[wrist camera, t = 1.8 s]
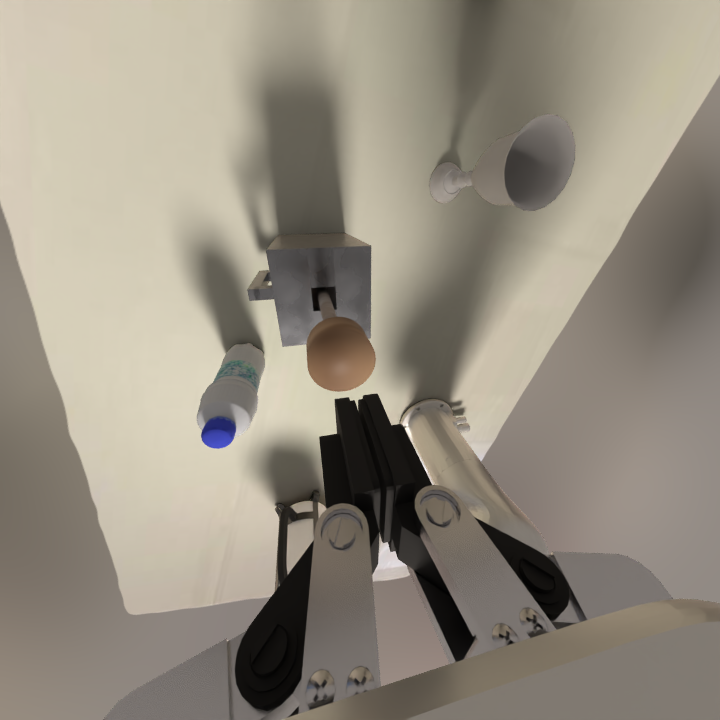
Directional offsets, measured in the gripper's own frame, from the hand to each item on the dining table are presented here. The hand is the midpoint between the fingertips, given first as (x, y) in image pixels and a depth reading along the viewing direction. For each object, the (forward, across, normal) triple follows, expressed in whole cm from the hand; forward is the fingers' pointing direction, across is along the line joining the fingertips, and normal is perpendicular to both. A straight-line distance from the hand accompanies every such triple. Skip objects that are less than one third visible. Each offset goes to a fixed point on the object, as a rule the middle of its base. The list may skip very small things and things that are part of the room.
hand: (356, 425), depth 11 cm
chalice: (+36, -20, -10) cm, 43 cm away
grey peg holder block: (+36, +1, +1) cm, 36 cm away
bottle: (+36, +13, +15) cm, 41 cm away
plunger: (+24, 0, +1) cm, 24 cm away
